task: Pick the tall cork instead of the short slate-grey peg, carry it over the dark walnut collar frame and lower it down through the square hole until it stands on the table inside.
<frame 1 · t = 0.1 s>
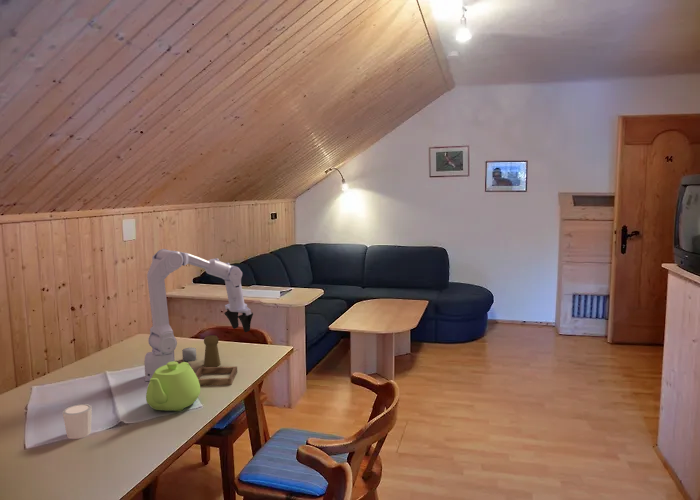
hand: (241, 329, 199), 10 cm above the table, tool pointing down, fingers open, 7 cm apart
cork: (212, 365, 191), on the table
short slate peg: (189, 359, 197), on the table
walnut collar block: (215, 378, 177), on the table
teapot: (172, 406, 155), on the table
white cylinder: (79, 434, 138), on the table
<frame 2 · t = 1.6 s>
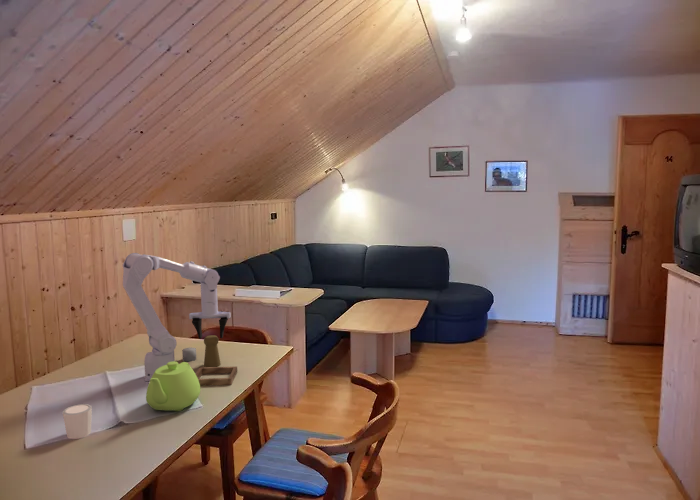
hand: (211, 337, 189), 10 cm above the table, tool pointing down, fingers open, 7 cm apart
nothing on the table moved.
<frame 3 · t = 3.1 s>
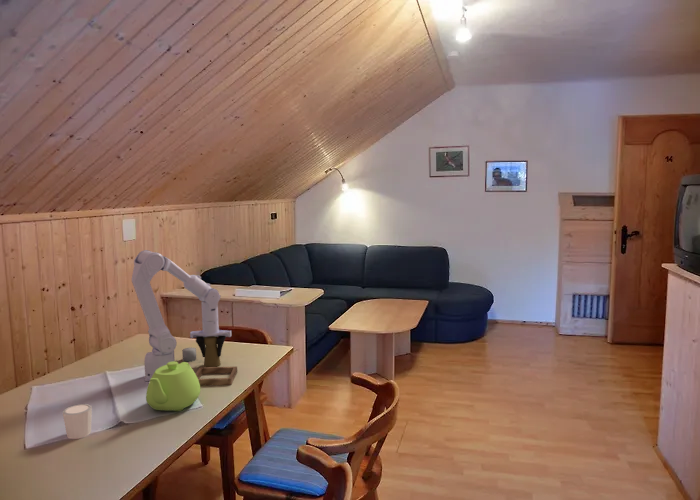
hand: (211, 356, 190), 3 cm above the table, tool pointing down, fingers closed on cork, 5 cm apart
cork: (212, 365, 191), on the table, touching gripper
everything else where it was.
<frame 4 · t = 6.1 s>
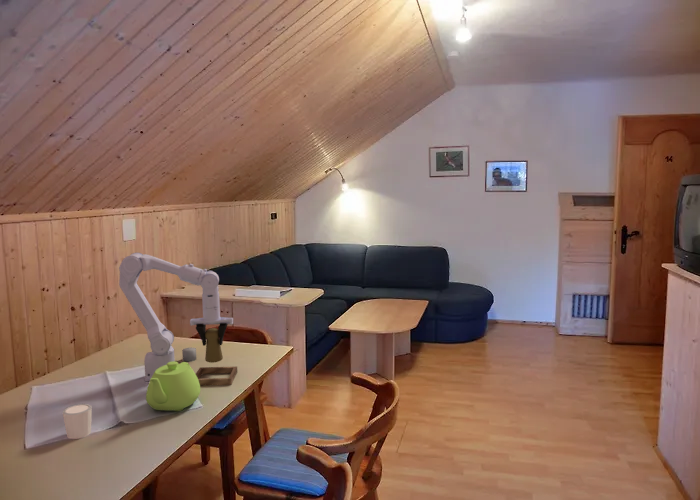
hand: (212, 344, 181), 10 cm above the table, tool pointing down, fingers closed on cork, 5 cm apart
cork: (214, 359, 183), point 5 cm above the table, touching gripper
everything else where it was.
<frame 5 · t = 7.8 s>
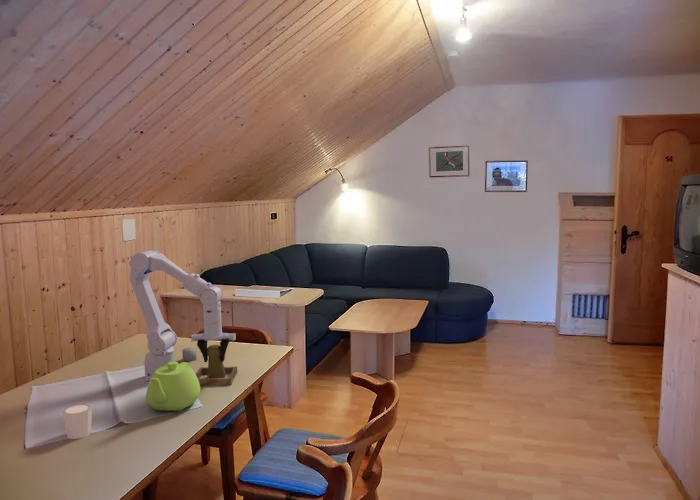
hand: (214, 361, 176), 6 cm above the table, tool pointing down, fingers closed on cork, 5 cm apart
cork: (216, 376, 179), resting in walnut collar block, touching gripper
everything else where it was.
when the fingers open (4 cm above the table, at t = 9.2 s): cork stays where it is, resting in walnut collar block.
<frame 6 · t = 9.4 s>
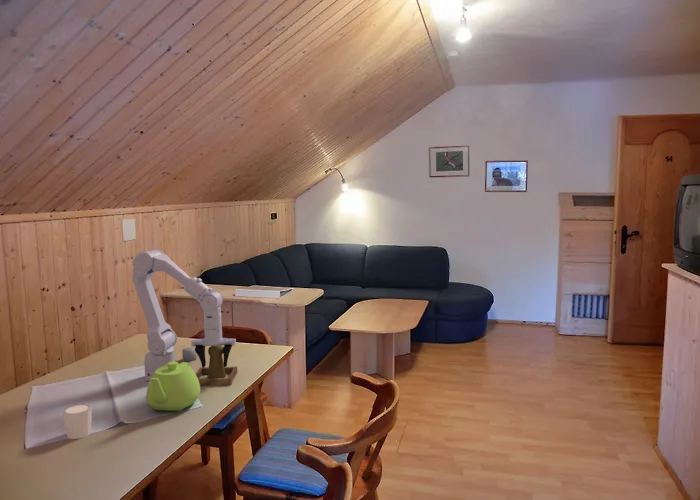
hand: (214, 366, 176), 4 cm above the table, tool pointing down, fingers open, 7 cm apart
cork: (216, 377, 179), resting in walnut collar block
everything else where it was.
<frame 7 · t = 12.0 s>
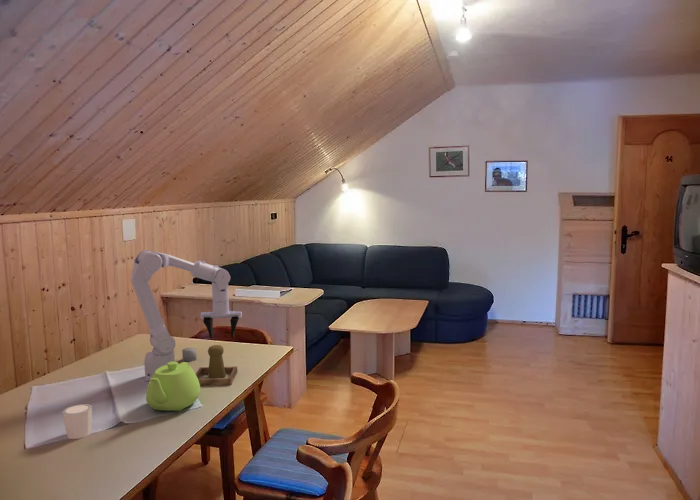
hand: (222, 337, 190), 10 cm above the table, tool pointing down, fingers open, 7 cm apart
nothing on the table moved.
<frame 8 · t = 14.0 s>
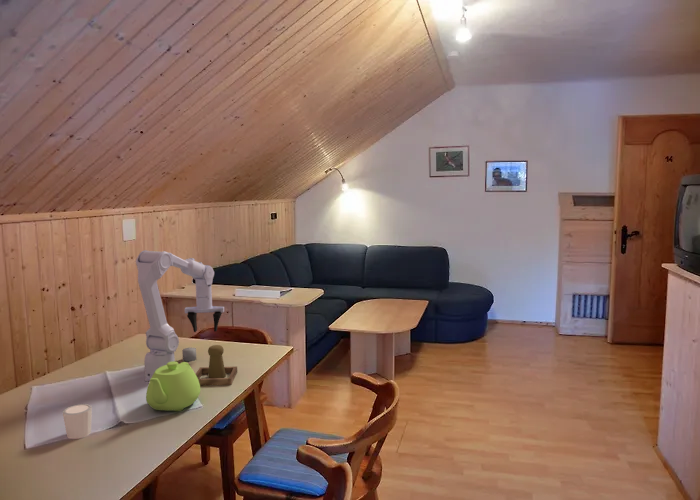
hand: (205, 331, 198), 10 cm above the table, tool pointing down, fingers open, 7 cm apart
nothing on the table moved.
at the end: cork 1.8 cm off-centre on the walnut collar block, point 0.0 cm above the walnut collar block's base; cork tilted 0°; the gripper is holding nothing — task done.
